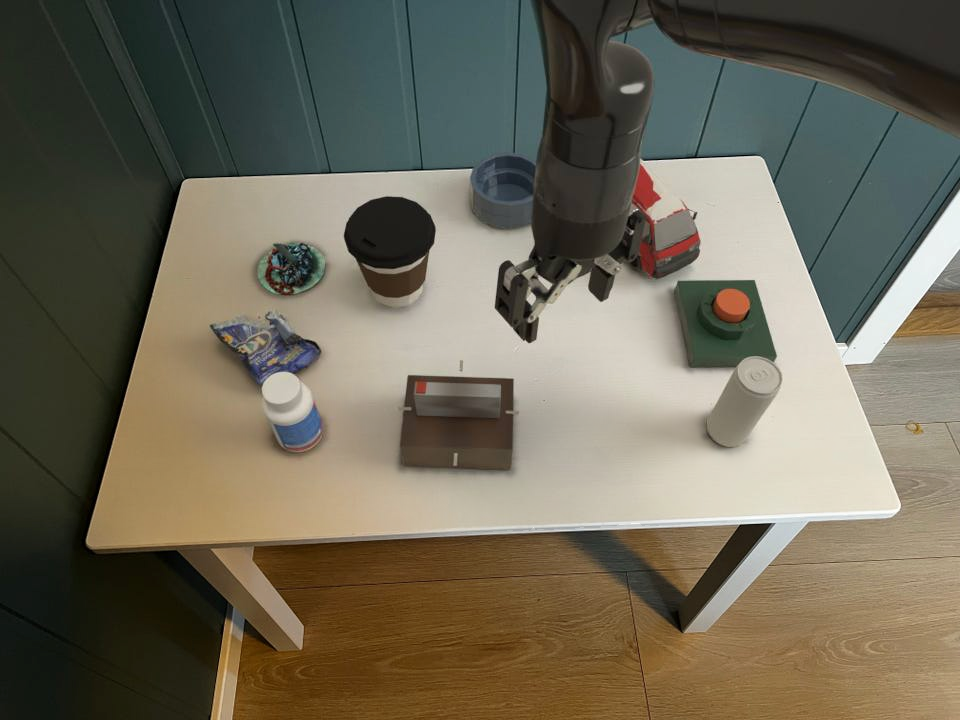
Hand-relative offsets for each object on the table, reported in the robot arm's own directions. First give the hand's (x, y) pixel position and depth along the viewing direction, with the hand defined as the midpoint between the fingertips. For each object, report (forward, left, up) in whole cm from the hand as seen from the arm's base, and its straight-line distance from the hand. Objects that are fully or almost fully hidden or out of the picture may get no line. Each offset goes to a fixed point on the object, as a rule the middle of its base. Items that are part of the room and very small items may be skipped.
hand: (562, 314), depth 68 cm
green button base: (-2, -26, -20) cm, 33 cm away
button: (-2, -27, -16) cm, 31 cm away
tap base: (+4, +9, -20) cm, 23 cm away
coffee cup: (+26, +5, -20) cm, 33 cm away
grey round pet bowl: (+31, -16, -20) cm, 41 cm away
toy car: (+16, -27, -20) cm, 38 cm away
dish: (+37, +15, -20) cm, 45 cm away
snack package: (+26, +23, -20) cm, 40 cm away
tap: (+4, +9, -15) cm, 18 cm away
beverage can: (-13, -16, -20) cm, 29 cm away
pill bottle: (+14, +25, -20) cm, 35 cm away
